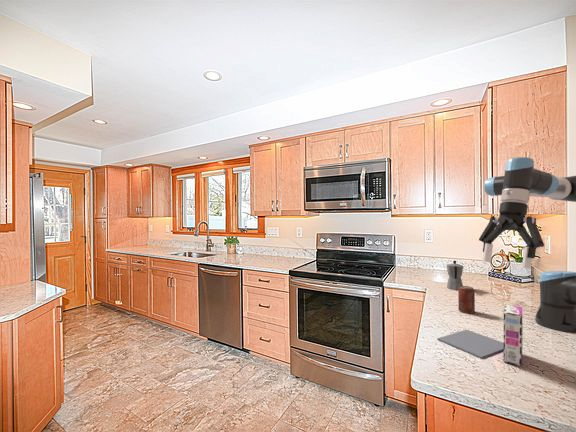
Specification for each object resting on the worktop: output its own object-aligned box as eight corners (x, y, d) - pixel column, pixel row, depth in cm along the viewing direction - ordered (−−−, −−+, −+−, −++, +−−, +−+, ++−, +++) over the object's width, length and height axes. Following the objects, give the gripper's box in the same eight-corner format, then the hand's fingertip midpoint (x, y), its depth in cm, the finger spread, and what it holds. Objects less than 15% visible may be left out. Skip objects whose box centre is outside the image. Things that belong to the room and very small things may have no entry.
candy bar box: (522, 367, 91) (522, 315, 91) (503, 362, 94) (502, 312, 94) (523, 353, 100) (522, 306, 100) (505, 349, 103) (504, 303, 103)
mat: (466, 331, 120) (466, 329, 120) (511, 347, 105) (511, 345, 105) (437, 339, 112) (437, 338, 112) (481, 358, 97) (481, 357, 97)
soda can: (460, 308, 148) (460, 284, 148) (476, 311, 143) (476, 287, 143) (456, 311, 143) (456, 287, 143) (472, 314, 138) (472, 289, 138)
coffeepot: (446, 285, 194) (445, 258, 194) (462, 286, 190) (462, 259, 190) (447, 291, 180) (447, 262, 180) (465, 292, 176) (464, 263, 176)
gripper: (473, 202, 110) (464, 258, 108) (546, 198, 85) (536, 269, 84) (488, 206, 111) (480, 261, 110) (565, 203, 87) (555, 273, 86)
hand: (505, 264), depth 97 cm, fingers open, 13 cm apart
